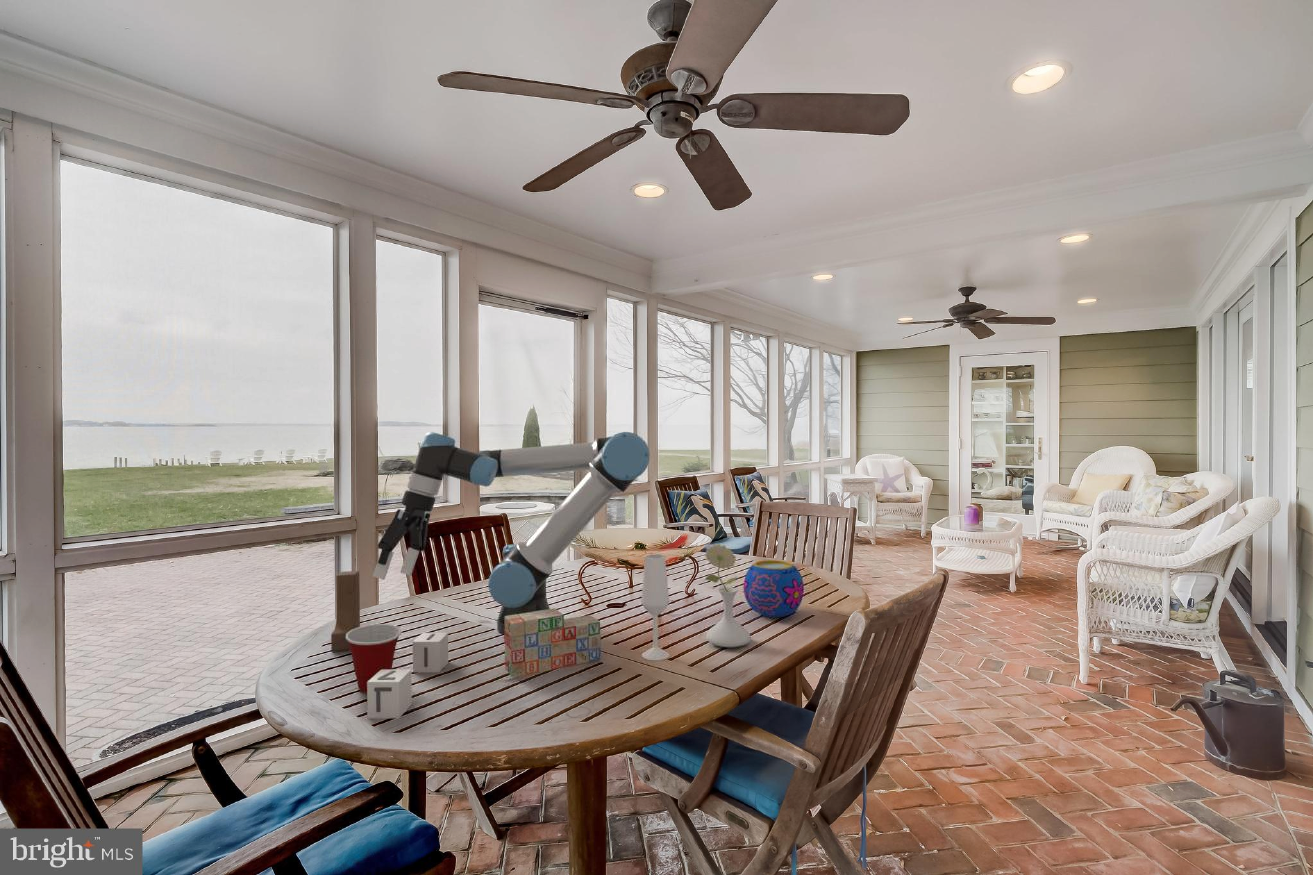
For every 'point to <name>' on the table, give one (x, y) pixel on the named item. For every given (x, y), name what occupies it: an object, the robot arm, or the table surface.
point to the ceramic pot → (773, 588)
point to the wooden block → (346, 609)
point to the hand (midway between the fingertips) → (392, 575)
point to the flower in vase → (725, 602)
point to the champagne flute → (655, 598)
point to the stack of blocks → (549, 641)
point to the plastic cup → (372, 650)
